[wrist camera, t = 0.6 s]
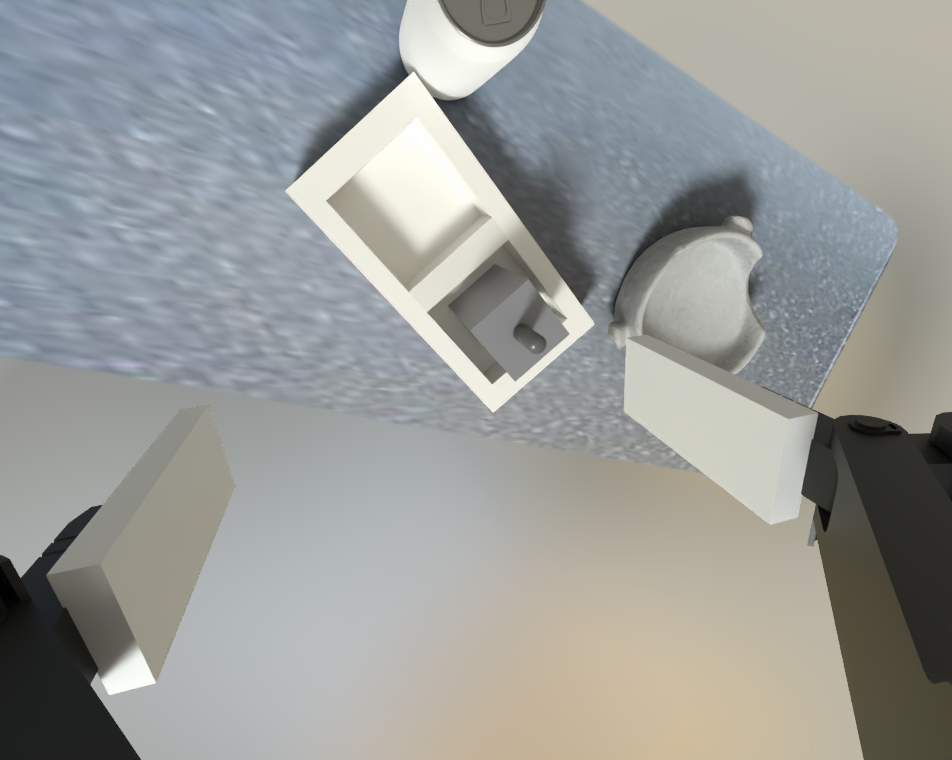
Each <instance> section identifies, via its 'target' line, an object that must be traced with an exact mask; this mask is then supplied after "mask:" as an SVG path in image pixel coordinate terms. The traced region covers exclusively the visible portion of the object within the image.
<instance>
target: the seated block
mask: <svg viewBox="0 0 952 760" xmlns="http://www.w3.org/2000/svg"><path fill="white" fill-rule="evenodd" d="M448 307H449V308H450V309H451V310H452V311H453V312H454V313H455V315H456V316H457V317H458V318H459V319H460V320H461V321H462V323H463V324H464V325H465V326H466V327H467V328H468V329H469V331H470V332H471V333H472V334H473V335H474V336H475V338H476V339H477V340H478V341H479V342H480V343H481V344H482V346H483V347H484V348H485V349H486V350H487V351H488V352H489V353H490V354H491V356H492V357H493V358H494V359H495V360H496V361H497V362H498V363H499V364H500V366H501V367H502V368H503V369H504V370H505V371H506V372H507V373H508V374H509V376H510V377H511V378H512V379H513V380H514V381H515V382H516V381H517V380H518V379H519V378H520V377H521V376H522V375H524V374H525V373H526V372H527V371H528V370H529V369H530V368H532V367H533V366H534V365H535V364H536V363H537V362H538V361H540V360H541V359H542V358H543V357H544V356H545V355H547V354H548V353H549V352H550V351H551V350H552V349H553V348H555V347H556V346H557V345H558V344H559V343H560V342H561V341H563V340H564V339H565V338H566V337H567V336H568V335H569V332H568V331H567V330H566V328H565V327H564V326H563V324H562V323H561V322H560V320H559V319H558V318H557V317H556V315H555V314H554V313H553V311H552V310H551V309H550V307H549V306H548V305H547V303H546V302H545V301H544V299H543V298H542V297H541V295H540V294H539V293H538V291H537V290H536V289H535V287H534V286H533V285H532V283H531V282H530V281H529V279H526V278H524V277H522V276H520V275H518V274H515V273H513V272H511V271H509V270H507V269H504V268H502V267H500V266H498V265H496V264H494V265H493V266H492V267H491V268H490V269H489V270H487V271H486V272H485V273H484V274H483V275H482V276H481V277H480V278H478V279H477V280H476V281H475V282H474V283H473V284H472V285H471V286H469V287H468V288H467V289H466V290H465V291H464V292H463V293H462V294H461V295H459V296H458V297H457V298H456V299H455V300H454V301H453V302H452V303H450V304H449V305H448Z"/></svg>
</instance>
